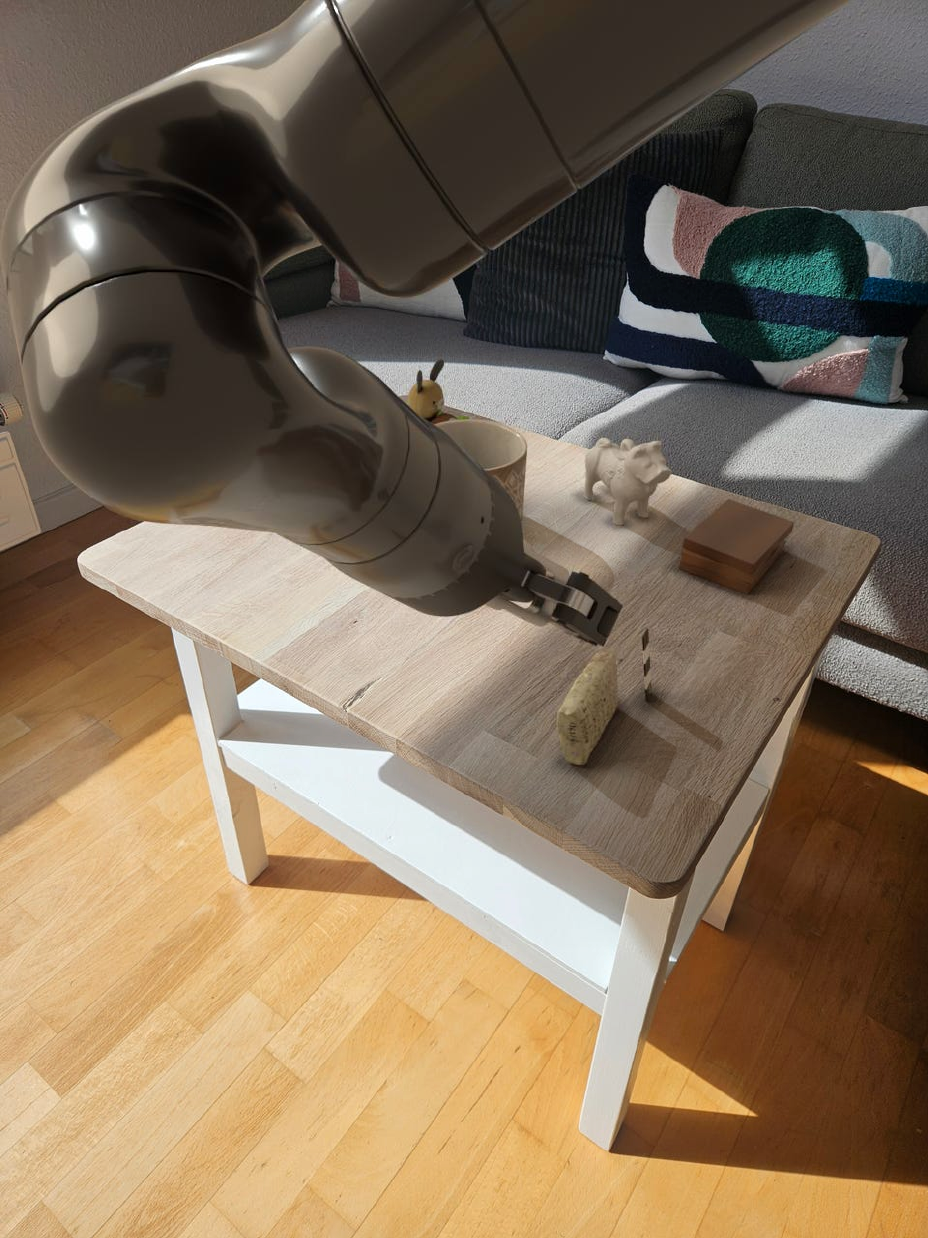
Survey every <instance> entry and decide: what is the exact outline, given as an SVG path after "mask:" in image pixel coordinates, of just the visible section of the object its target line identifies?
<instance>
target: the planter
mask: <svg viewBox="0 0 928 1238" xmlns="http://www.w3.org/2000/svg"><path fill="white" fill-rule="evenodd" d="M434 425H435V426H437V427H439V428H440V429H441V430H443V431H444V432H445V433H446V434H447V435H449V436H450V437H451V438H452V439H453V440H454V441H455V442H457V443H458V444H459V445H460V446H461V447H462V448H463V449H464V450H465V451H466V452H467V453H468V454H469V455H470V456H471V457H472V458H473V459H474V460H475V461H476V462H477V463H478V464H479V465H480V466H481V467H482V468H484V469H485V470H486V471H487V472H488V473H489V474H490V475H491V476H492V477H493V478H494V479H495V480H496V481H497V482H498V483H499V484H500V485H501V486H502V487H503V488H504V489H505V490H506V491H507V492H508V493H509V495H510V496H511V498H512V499H513V501H514V503H515V505H516V507H517V509H518V512H519V515H520V519H521V522H522V521H523V516H524V515H523V513H524V498H525V487H526V485H525V484H526V472H527V471H526V469H527V457H528V443H527V440H526V439H525V437H524V436H523V435H522V434H521V432H519V431H517V430H515V429H514V428H512V427H510V426H508V425H505V424H503V423H499V422H495V421H491V420H485V419H484V420H483V419H471V418H469V419H461V420H451V421H445V422H441V423H437V424H434Z"/></svg>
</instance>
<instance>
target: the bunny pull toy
mask: <svg viewBox="0 0 928 1238" xmlns="http://www.w3.org/2000/svg"><path fill="white" fill-rule="evenodd" d="M444 366H445V361H444V359H442V358H441V359H438V360H436V361H435V362H434V363H433V366H432V368H431V370H430V373H429V379H424V378H423V377H424V376H423V371H422V370H421V369H420V370H418V371H417V374H416V382H415V383H414V384H413V385H412V387H410V389H409V392H408V394H407V405H408V406H409V407H410V408H411V409H413V410H414V411H415V412H416V413H417V414H418V415H419V416H420V417H422V418H424V419H425V420H427V421H429V422H431V423H432V424H437V423H441V422H445V421H451V420H461V419H470V418H469V417H468V416H466V415H464V414H463V415H462V414H461V415H458V416H455V415H453V414H451V413H448V412H444V411H443V408H444V405H445V398H444V392H443V388H442V387H441V385H440V384H439V383H438V382H436V381H437V379H438V376H439V375H440V373H441V372H442V370H443V369H444Z"/></svg>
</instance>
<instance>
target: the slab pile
mask: <svg viewBox="0 0 928 1238" xmlns="http://www.w3.org/2000/svg"><path fill="white" fill-rule="evenodd" d="M794 526H795V521H792V520H789V519H786V518H784V517H782V516H778V515H776V514H773V513H770V512H767V511H764V510H761V509H758V508H757V507H752V506H750V505H747V504H744V503H741V502H739V501H736V500H733V499H731V498H727V499H726V500H725V501H724V502H723V503H722V504H721V505H720V506H718V507H717V508H715V509H714V511H713V512H712V513H710V515H708V516H707V517H706V518H705V519H704V520H702V521H701V523H699V524H698V525H697V526H696V527H694V528H693V529H692V530H691V531H690V532H689V533H688V534H686V536H684V537H683V542H682V546H681V547H682V548H683V551H682V553H681V557H680V559H679V565H678V570H681V571H684V572H686V573H689V574H692V575H695V576H697V577H700V578H703V579H705V580H708V581H710V582H713V583H716V584H717V585H718V584H719V585H721V586H724V587H726V588H729V589H732V590H735V591H737V592H740V593H743V594H745V595H748V594H749V593H750V592H751V590H753V588H754V587H755V586H756V584H757V583H758V582H759V580H760V579H761V578H762V577H763V575H764V574H765V573H766V572H767V571H768V569H769V568H770V567H771V566H772V564H773V563H774V561H776V559H777V558H778V557H779V555H780V554H781V553H782V552H783V551H784V549H785V545H786V542H787V541H786V540H785V539H787V537H789V535H790V534H791V533H792V532H793V529H794Z"/></svg>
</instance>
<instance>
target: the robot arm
mask: <svg viewBox="0 0 928 1238" xmlns="http://www.w3.org/2000/svg"><path fill="white" fill-rule="evenodd" d="M853 1H854V0H304V2H302V3H301V4H300V6H298V8H297V9H296V10H295V11H294V12H293V13H292V14H291V15H289V17H287V19H285V20H284V21H283V22H281V23H279V24H278V25H277V26H275V27H273V28H271V29H269V30H268V31H265V32H263V33H260V34H259V35H257V36H254V37H252V38H250V39H247V40H244V41H242V42H239V43H235V44H234V45H230V46H228V47H226V48H223V49H220V50H218V51H216V52H213V53H210V54H208V55H205V56H204V57H202V58H199V59H197V60H195V61H193V62H192V63H189V64H188V65H186V66H184V67H181V68H180V69H178V70H177V71H175V72H172V73H170V74H169V75H166V76H165V77H163V78H160V79H158V80H157V81H154V82H152V83H150V84H148V85H146V86H144V87H141V88H140V89H138V90H136V91H134V92H132V93H129V94H127V95H126V96H123V97H121V98H119V99H117V100H115V101H113V102H111V103H109V104H107V105H105V106H103V107H101V108H99V109H98V110H96V111H95V112H92V113H91V114H89V115H87V116H85V117H84V118H82V119H81V120H79V121H78V122H76V123H75V124H74V125H73V126H71V127H69V129H67V130H66V131H64V132H63V133H61V134H60V135H59V136H58V137H57V138H56V139H55V140H54V141H53V142H52V143H50V145H48V146H47V147H46V149H44V151H43V152H42V153H41V154H40V155H39V156H38V157H37V159H36V160H35V161H34V163H32V164H31V166H30V168H28V171H27V172H26V173H25V174H24V175H23V177H22V179H21V181H20V182H19V184H18V186H17V187H16V189H15V191H14V193H13V195H12V197H11V200H10V201H9V204H8V206H7V208H6V210H5V214H4V218H3V221H2V226H1V230H0V231H1V232H0V266H1V273H2V277H3V284H4V288H5V292H6V297H7V302H8V307H9V312H10V319H11V323H12V327H13V333H14V337H15V338H14V339H15V342H16V343H15V344H16V348H17V354H18V360H19V364H20V369H21V375H22V379H23V385H24V391H25V395H26V401H27V405H28V410H29V415H30V418H31V422H32V426H33V429H34V432H35V433H36V436H37V438H38V441H39V443H40V445H41V447H42V449H43V450H44V452H45V454H46V455H47V457H48V458H49V459H50V461H51V462H52V463H53V465H54V466H55V467H56V468H57V470H59V472H61V473H62V475H63V476H64V477H65V478H66V479H68V481H70V482H71V483H72V484H73V485H74V486H76V487H77V488H78V489H79V490H80V491H82V492H83V493H84V494H85V495H86V496H88V497H89V498H90V499H92V500H93V501H94V502H96V503H97V504H99V505H101V506H102V507H104V508H106V509H108V510H110V511H112V512H114V513H116V514H119V515H120V516H122V517H126V518H129V519H132V520H136V521H139V522H145V523H146V522H147V523H151V524H152V523H153V524H161V525H162V524H163V525H174V526H175V525H176V526H177V525H178V526H201V527H213V528H225V529H233V530H242V531H252V532H264V533H275V534H277V535H278V536H280V537H281V538H284V539H286V540H288V541H289V542H291V543H293V544H295V545H297V546H299V547H301V548H303V549H305V550H307V551H309V552H311V553H313V554H316V555H318V556H319V557H322V558H323V559H324V560H326V561H327V562H328V563H329V564H330V565H331V566H332V567H334V568H335V569H336V570H337V571H340V572H341V573H343V574H344V575H346V576H347V577H349V578H351V579H352V580H354V581H357V582H358V583H361V584H362V585H365V586H366V587H368V588H370V589H372V590H375V591H376V592H378V593H381V594H383V595H384V596H387V597H389V598H391V599H392V600H395V601H397V602H399V603H400V604H403V605H404V606H407V607H409V608H411V609H413V610H415V611H417V612H419V613H422V614H424V615H427V616H432V617H440V618H442V617H443V618H449V617H457V616H462V615H466V614H468V613H471V612H474V611H475V610H477V609H480V608H481V607H483V606H485V607H487V608H490V609H493V610H495V611H502V610H503V611H505V612H507V613H509V614H510V615H512V616H515V617H516V618H518V619H521V620H523V621H525V622H527V623H529V624H532V625H534V626H537V627H541V628H542V627H545V626H547V625H548V624H551V625H553V626H555V627H557V628H559V629H560V630H562V633H564V634H565V635H567V636H570V637H574V638H576V639H577V640H580V641H583V642H585V643H586V644H587V643H588V644H590V645H592V646H594V647H598V646H600V647H602V648H603V647H605V645H606V644H607V641H608V639H609V637H610V634H611V632H612V630H613V628H614V626H615V624H616V622H617V619H618V617H619V615H620V613H621V611H622V610H623V607H624V605H623V604H621V602H620V601H619V600H618V599H616V598H615V597H614V596H612V595H611V593H609V592H608V591H606V589H604V588H603V587H601V586H600V585H599V584H598V583H597V582H596V581H595V580H594V579H591V578H590V575H589V574H587V573H585V572H582V571H579V572H577V571H571V573H570V572H569V569H567V567H564V566H563V565H560V564H559V563H557V562H555V561H553V560H552V559H550V558H548V557H546V556H544V555H542V554H541V553H539V552H537V551H535V550H534V549H533V548H532V545H531V544H530V542H529V541H527V540H525V539H524V534H523V524H522V521H521V519H520V515H519V512H518V509H517V507H516V505H515V503H514V501H513V499H512V498H511V496H510V495H509V493H508V492H507V491H506V490H505V489H504V488H503V487H502V486H501V485H500V484H499V483H498V482H497V481H496V480H495V479H494V478H493V477H492V476H491V475H490V474H489V473H488V472H487V471H486V470H485V469H484V468H482V467H481V466H480V465H479V464H478V463H477V462H476V461H475V460H474V459H473V458H472V457H471V456H470V455H469V454H468V453H467V452H466V451H465V450H464V449H463V448H462V447H461V446H460V445H459V444H458V443H457V442H455V441H454V440H453V439H452V438H451V437H450V436H449V435H447V434H446V433H445V432H444V431H443V430H441V429H440V428H439V427H437V426H435V425H434V424H432V423H431V422H429V421H427V420H425V419H424V418H422V417H420V416H419V415H418V414H417V413H416V412H415V411H414V410H413V409H411V408H410V407H409V406H408V403H406V402H405V401H404V400H403V399H402V398H401V397H400V396H399V395H398V394H397V393H396V392H394V390H393V389H391V387H389V386H388V385H387V384H386V383H385V382H384V381H383V380H382V379H381V378H380V377H379V376H378V375H376V374H375V373H374V372H373V371H371V370H370V369H368V368H367V367H366V366H364V365H362V364H361V363H359V362H358V361H357V360H355V359H354V358H352V357H351V356H349V355H347V354H344V353H342V352H339V351H337V350H335V349H332V348H330V347H324V346H317V345H303V346H302V345H301V346H291V347H287V346H286V342H285V339H284V336H283V334H282V331H281V328H280V324H279V322H278V318H277V315H276V313H275V310H274V307H273V304H272V301H271V298H270V296H269V293H268V289H267V287H266V284H265V282H264V277H265V275H267V273H268V272H270V271H271V269H273V268H274V267H276V266H277V265H278V264H279V263H281V262H283V261H285V260H287V259H288V258H290V257H292V256H295V255H297V254H300V253H302V252H306V251H308V250H311V249H314V248H317V247H320V246H322V247H324V248H325V250H326V251H327V252H328V253H329V254H330V255H331V256H332V257H333V258H334V260H335V261H336V262H337V263H338V265H340V266H341V268H343V270H344V271H346V272H347V273H348V274H349V275H350V276H351V277H352V278H353V279H355V280H356V281H357V282H358V283H360V284H361V285H363V286H364V287H366V288H367V289H369V290H370V291H372V292H374V293H377V294H378V295H381V296H384V297H387V298H392V299H398V300H400V299H411V298H414V297H419V296H421V295H424V294H427V293H428V292H431V291H433V290H435V289H437V288H438V287H440V286H442V285H444V284H446V283H447V282H449V281H451V280H453V278H455V277H457V276H459V275H460V274H461V273H463V272H465V271H466V270H468V269H469V268H470V267H472V266H473V265H475V264H476V263H478V262H479V261H481V260H483V259H484V258H485V257H487V256H488V255H489V251H490V250H491V251H494V250H496V249H497V248H499V247H500V246H502V245H503V244H505V243H506V242H507V241H509V240H511V239H512V238H513V237H515V236H516V235H517V234H519V233H520V232H522V231H523V230H525V229H526V228H528V227H529V226H530V225H531V224H533V223H535V222H536V221H538V220H539V219H541V218H542V217H543V216H545V215H546V214H547V213H549V212H550V211H552V210H554V208H556V207H558V206H559V205H560V204H562V203H563V202H564V201H566V200H568V199H569V198H571V196H573V195H575V194H576V193H577V192H578V190H582V189H583V188H585V187H586V186H588V185H589V184H590V183H592V182H593V181H594V180H596V179H598V177H600V176H602V175H603V174H604V173H605V172H607V171H608V170H609V169H611V168H612V167H614V166H615V165H617V164H618V163H620V162H621V161H622V160H624V159H625V158H627V157H628V156H629V155H631V154H633V152H635V151H636V150H638V149H640V148H641V147H642V146H643V145H645V144H646V143H648V142H649V141H650V140H652V139H653V138H654V137H656V136H657V135H659V134H660V133H662V132H664V131H665V130H666V129H667V128H669V127H670V126H672V125H673V124H674V123H676V122H677V121H678V120H679V121H680V119H682V118H683V117H684V116H686V115H687V114H688V113H690V112H692V111H693V110H694V109H696V108H697V107H699V106H700V105H701V104H703V103H704V102H706V101H707V100H708V99H710V98H711V97H713V96H715V95H716V94H717V93H719V92H721V90H723V89H724V88H726V87H728V86H730V84H732V83H733V82H734V81H736V80H738V79H739V78H741V77H742V76H744V75H745V74H746V73H748V72H749V71H751V70H752V69H754V68H756V66H758V65H760V64H761V63H762V62H763V61H765V60H767V59H768V58H769V57H771V56H772V55H774V54H775V53H777V52H778V51H779V50H782V49H783V48H784V47H785V46H787V45H789V44H791V43H792V42H793V41H795V40H796V39H798V38H800V36H802V35H803V34H805V33H807V32H808V31H809V30H811V29H813V28H814V27H815V26H817V25H818V24H820V23H821V22H823V21H824V20H826V19H827V18H829V17H830V16H832V15H833V14H835V13H836V12H838V11H839V10H841V9H842V8H845V6H847V5H849V4H850V3H852V2H853ZM516 602H517V603H523V604H527V603H530V605H529V606H528V607H523V606H521V605H519V604H517V603H516Z"/></svg>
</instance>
